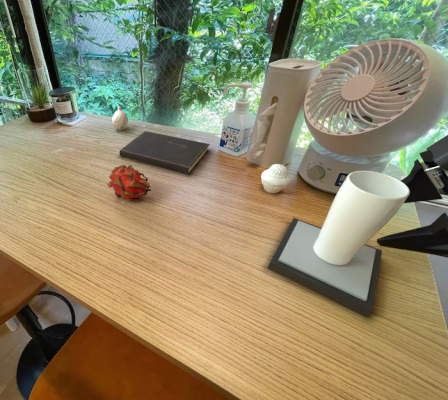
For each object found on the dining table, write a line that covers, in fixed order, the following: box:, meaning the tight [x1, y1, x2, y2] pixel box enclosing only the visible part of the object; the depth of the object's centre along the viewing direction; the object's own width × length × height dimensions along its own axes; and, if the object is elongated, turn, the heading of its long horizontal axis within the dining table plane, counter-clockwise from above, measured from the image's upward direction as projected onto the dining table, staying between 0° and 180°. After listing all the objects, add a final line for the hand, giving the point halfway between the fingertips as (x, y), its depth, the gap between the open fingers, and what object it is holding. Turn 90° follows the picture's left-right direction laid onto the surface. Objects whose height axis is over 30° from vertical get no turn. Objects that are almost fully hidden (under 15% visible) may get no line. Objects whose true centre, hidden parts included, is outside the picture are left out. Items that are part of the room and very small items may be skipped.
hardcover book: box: [119, 130, 210, 176], centre depth 79 cm, size 16×23×2 cm
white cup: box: [313, 170, 410, 265], centre depth 39 cm, size 7×7×15 cm
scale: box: [266, 217, 383, 318], centre depth 45 cm, size 14×14×2 cm
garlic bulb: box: [111, 105, 129, 131], centre depth 95 cm, size 7×6×8 cm
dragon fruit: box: [106, 164, 152, 202], centre depth 63 cm, size 8×8×12 cm
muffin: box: [260, 163, 291, 194], centre depth 60 cm, size 6×6×7 cm
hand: (373, 221), depth 37 cm, fingers open, 9 cm apart
